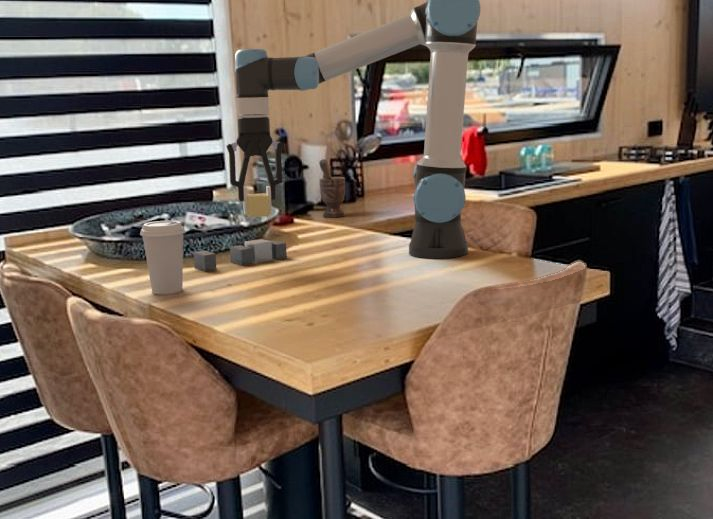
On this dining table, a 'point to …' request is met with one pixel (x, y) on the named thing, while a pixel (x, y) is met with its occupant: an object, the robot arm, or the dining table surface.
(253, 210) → the yellow cube
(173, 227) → the coffee cup
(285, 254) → the dark grey cubes
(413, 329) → the dining table surface
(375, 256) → the dining table surface
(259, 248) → the light gray cube
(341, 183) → the mortar and pestle
